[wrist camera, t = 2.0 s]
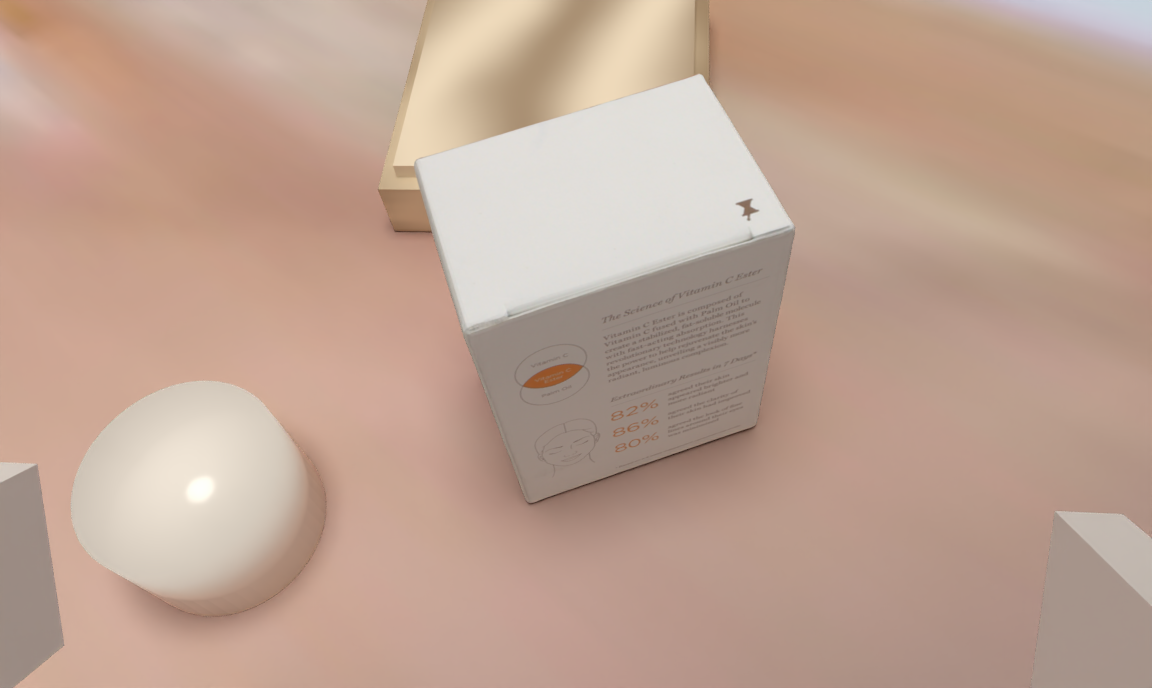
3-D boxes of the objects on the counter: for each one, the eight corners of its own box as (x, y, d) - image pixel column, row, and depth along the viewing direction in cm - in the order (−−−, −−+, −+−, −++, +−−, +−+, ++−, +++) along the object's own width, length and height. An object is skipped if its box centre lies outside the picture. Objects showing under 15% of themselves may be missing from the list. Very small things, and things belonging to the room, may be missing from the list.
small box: (695, 298, 31) (709, 64, 22) (760, 431, 28) (806, 222, 19) (480, 366, 30) (406, 152, 22) (524, 510, 28) (460, 330, 19)
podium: (706, 24, 39) (710, -37, 36) (705, 235, 33) (709, 180, 30) (444, 27, 40) (429, -31, 38) (394, 231, 34) (373, 178, 31)
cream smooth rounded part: (345, 442, 29) (304, 384, 26) (299, 623, 26) (246, 584, 23) (178, 435, 30) (117, 377, 27) (114, 610, 27) (36, 569, 24)
